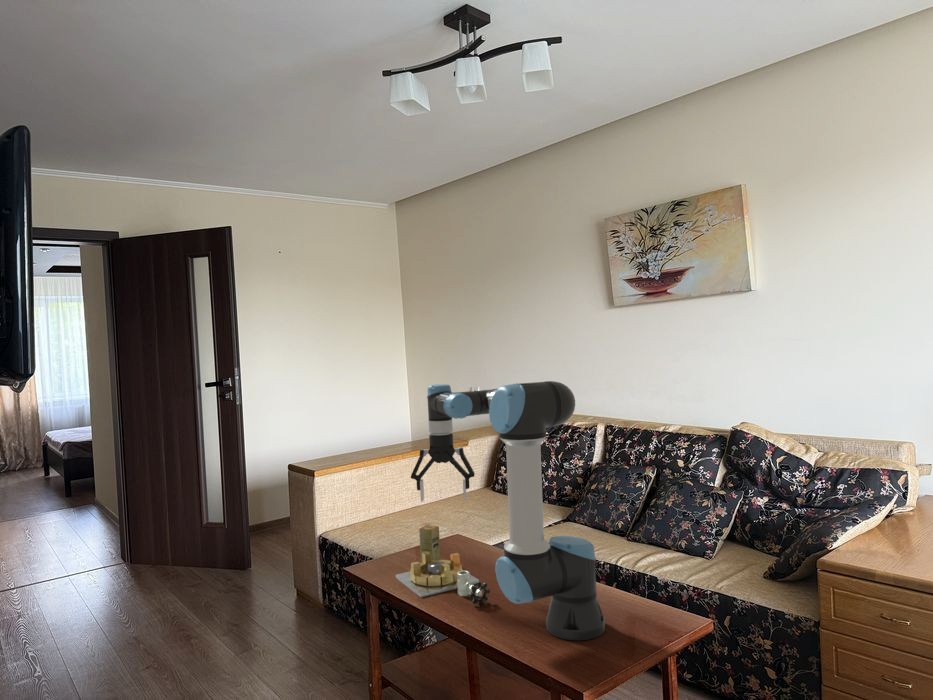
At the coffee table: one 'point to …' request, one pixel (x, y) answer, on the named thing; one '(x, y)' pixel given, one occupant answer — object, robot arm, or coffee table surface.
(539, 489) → the robot arm
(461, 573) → the valve
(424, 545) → the shoe polish box
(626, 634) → the coffee table surface
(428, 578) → the tan toothed ring
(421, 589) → the hub plate
